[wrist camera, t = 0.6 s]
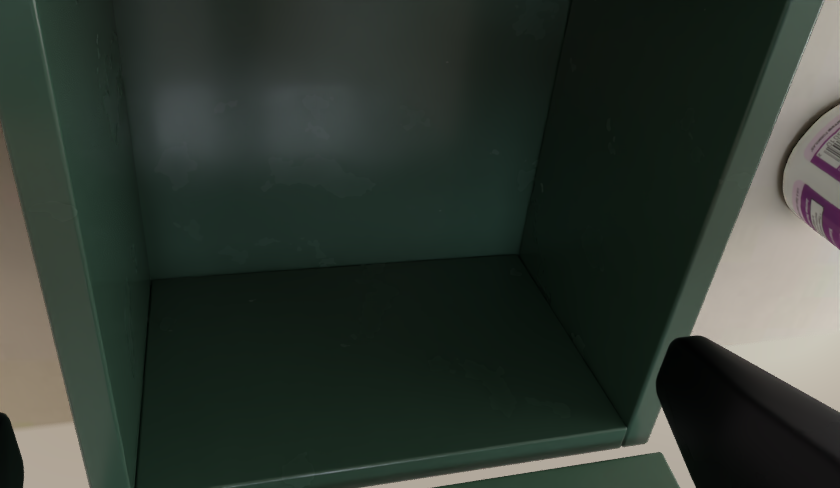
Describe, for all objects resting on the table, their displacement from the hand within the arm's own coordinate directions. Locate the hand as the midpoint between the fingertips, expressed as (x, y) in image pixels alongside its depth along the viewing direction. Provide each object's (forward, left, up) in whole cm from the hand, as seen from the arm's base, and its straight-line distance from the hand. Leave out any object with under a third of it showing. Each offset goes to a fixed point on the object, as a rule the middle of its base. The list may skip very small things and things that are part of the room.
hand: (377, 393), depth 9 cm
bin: (-1, -2, -13) cm, 13 cm away
